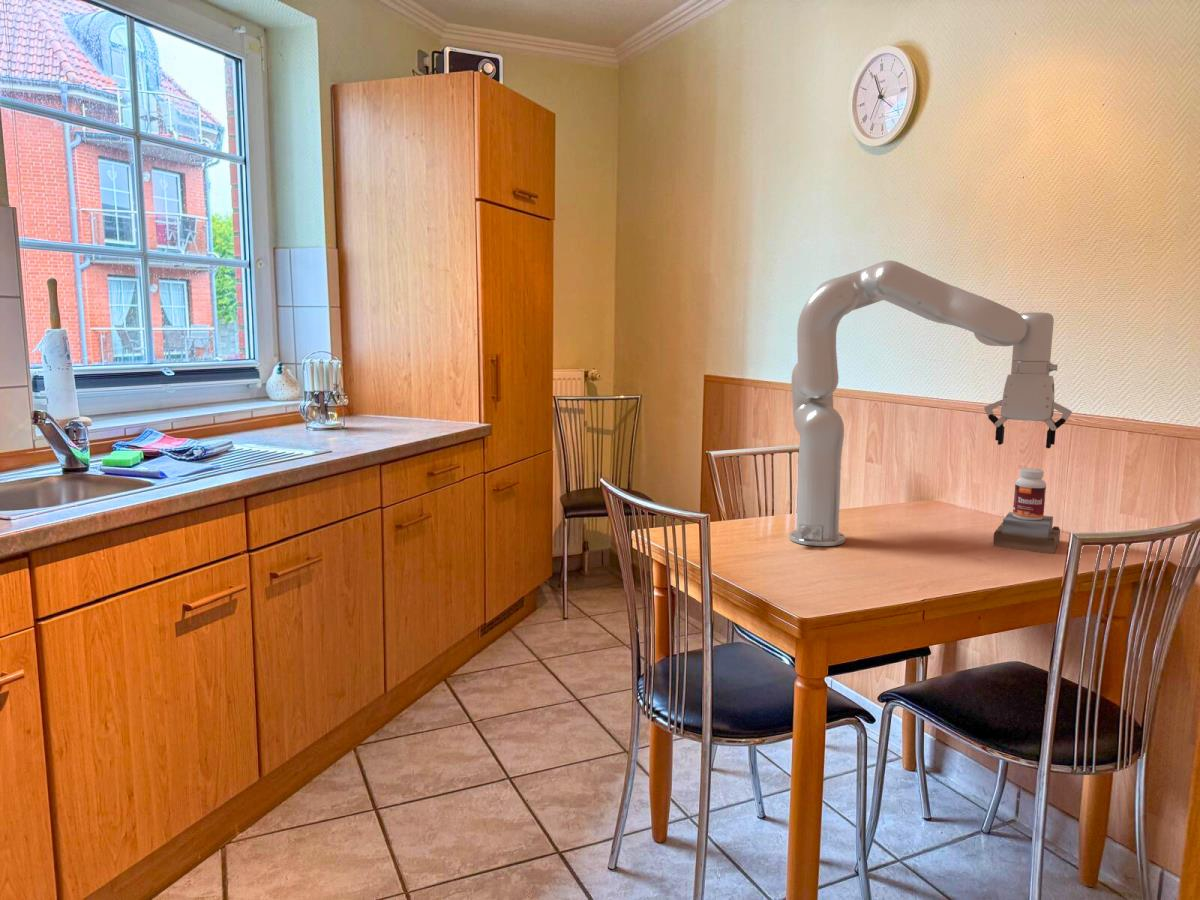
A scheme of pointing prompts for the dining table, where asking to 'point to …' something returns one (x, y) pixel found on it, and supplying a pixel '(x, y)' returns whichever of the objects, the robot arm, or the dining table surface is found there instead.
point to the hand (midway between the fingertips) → (1024, 445)
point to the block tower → (1027, 534)
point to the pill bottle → (1029, 495)
